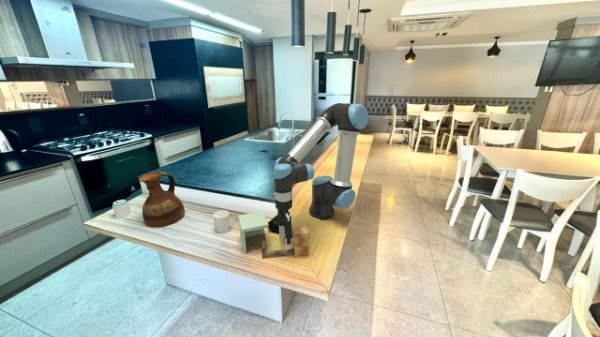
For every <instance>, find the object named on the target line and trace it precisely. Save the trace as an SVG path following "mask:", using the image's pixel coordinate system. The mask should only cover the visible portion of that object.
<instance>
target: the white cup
mask: <svg viewBox="0 0 600 337" xmlns="http://www.w3.org/2000/svg"><path fill="white" fill-rule="evenodd" d="M212 217H213V222H214V226H215V227H214V228H215V231H216V232H217V233H218V234H224V233H225V234H226V233H227V232H229V231H230V229H231V228H230V226H231V224H230V222H231V221H230V212H229V211H228V210H223V209H222V210H218V211H216V212H214V213H213V215H212Z"/></svg>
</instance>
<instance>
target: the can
mask: <svg viewBox="0 0 600 337" xmlns="http://www.w3.org/2000/svg"><path fill="white" fill-rule="evenodd" d="M112 209H113V213H114V217H115V218H116V219H124V218H127V217H129V216H130V215H131V214H132V212H131V210H130V209H131V208H130V205H129V202H128V201H127V200H126V199H118V200H116V201H114V202H113V203H112Z"/></svg>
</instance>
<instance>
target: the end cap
mask: <svg viewBox="0 0 600 337" xmlns="http://www.w3.org/2000/svg"><path fill="white" fill-rule="evenodd" d="M277 221H278V214H276V215H275V216H274V217H272V218H271V219H270V220H269V221H267V222H268V226H269V227H268V228H267V229H268V231H269V232H271V233H273V232H274V233H273V234H276V233H277V234H276V235H279V226H280V225H279V222H277Z"/></svg>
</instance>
